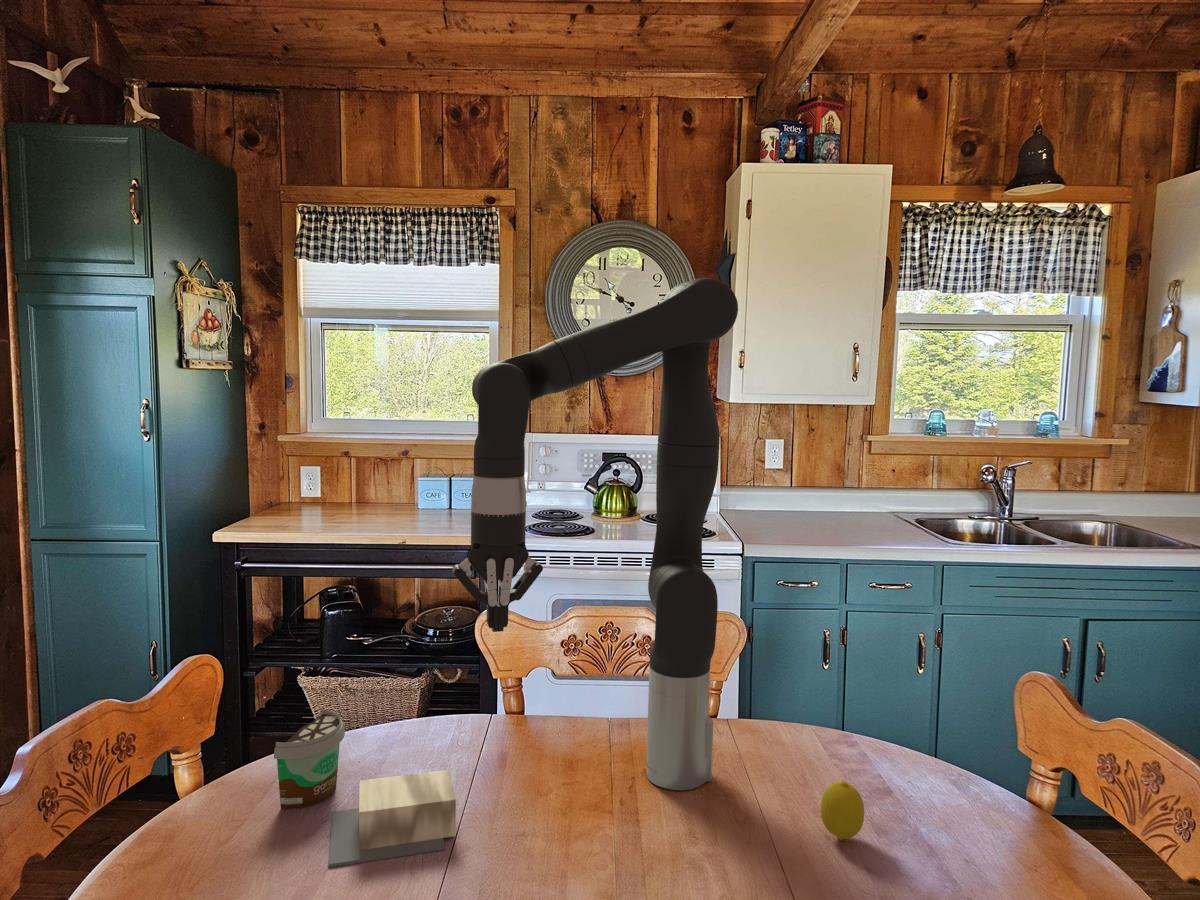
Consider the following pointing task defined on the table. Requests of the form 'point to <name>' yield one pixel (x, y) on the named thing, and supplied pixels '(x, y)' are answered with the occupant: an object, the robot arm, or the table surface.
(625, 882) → the table surface
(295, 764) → the food container
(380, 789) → the ash block
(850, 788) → the lemon
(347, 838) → the mat
